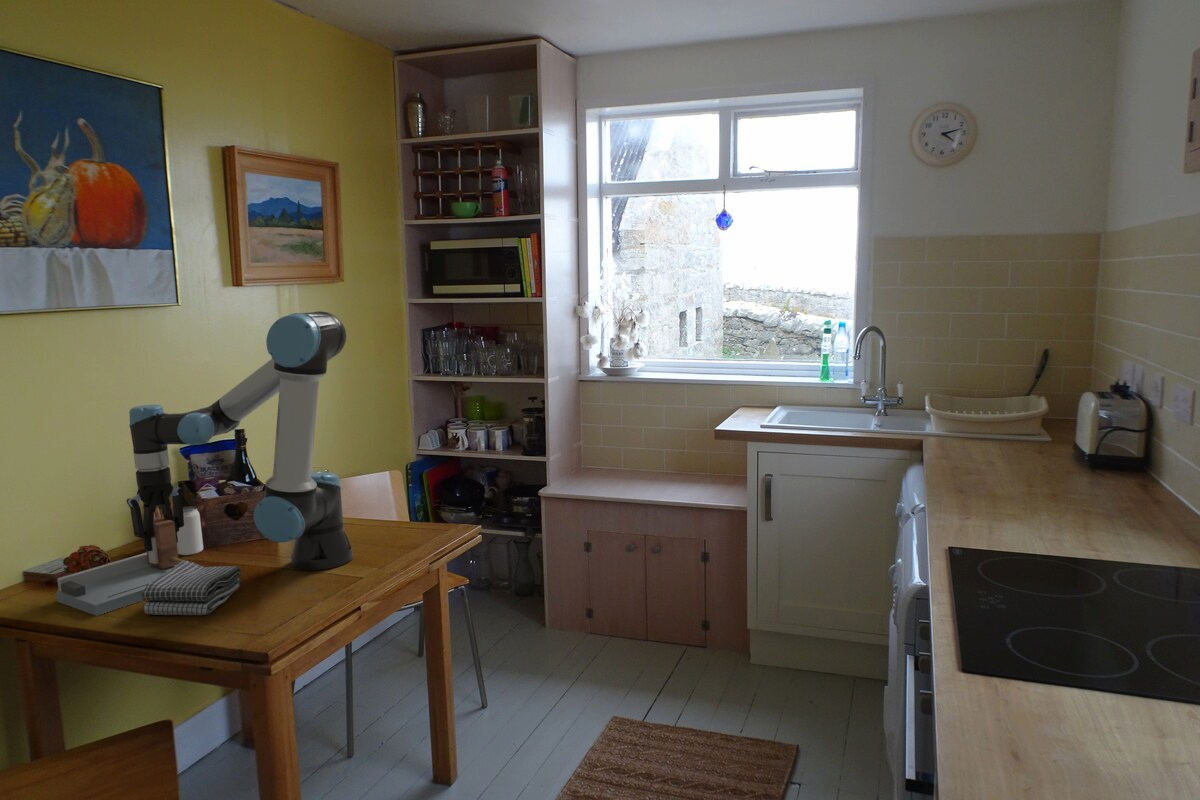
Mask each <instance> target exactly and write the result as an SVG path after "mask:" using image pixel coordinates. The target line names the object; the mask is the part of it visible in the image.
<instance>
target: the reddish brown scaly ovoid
mask: <svg viewBox="0 0 1200 800" xmlns="http://www.w3.org/2000/svg"><path fill="white" fill-rule="evenodd" d="M111 561H112V559H111V558H110V556H109V554H108V553H107V551H105V550H104V549H102V548H101V547H99V546H97V545H95V544H89V545H80V546H79V547H78V549H77V551H74V552H71V553H70V555H69V556H67V557H65V558H64V559H63V561H62V563H63V566H66V567H63V570H64V572H65V573H66V574H71V573H73V574H75V573H76V572H77V573H78V572H82V571H85V570H88V569H92V568H95V567H99V566H102V565H106V564H109V563H111Z"/></svg>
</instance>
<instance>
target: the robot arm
mask: <svg viewBox="0 0 1200 800" xmlns="http://www.w3.org/2000/svg"><path fill="white" fill-rule="evenodd" d="M265 340H266V341H265V342H266V349H267V353H268V354H269V355H270V356H271V359H269V360H268V361H267V362H266V363H264V364H263V365H262V366H260V367H259V368H258V369H256V370H255V371H253V372H252V373H251V374H250V375H249V376H247V377H246V378H244V379H243V380H242V381H240V382H239V383H238V384H237V385H236V386H234V387H233V388H231V389H230V390H229V391H228V392H226V393H225V394H224V395H222V396H221V397H220V398H219V399H217V400H216V401H215V402H213V403H212V404H211V405H209V406H206V407H203V408H199V409H195V410H191V411H188V412H187V411H186V412H183V413H182V412H180V413H166V412H165V411H164V407H163V406H162V405H161V404H145V405H137V406H134V407H132V408H130V410H129V415H128V416H129V428H130V435H131V442H132V447H133V449H132V450H133V458H134V460H133V461H134V468H135V469H136V471H135V479H136V485H137V492H136V495H135V496H133V497H131V498H127V499H126V503H127V505H128V507H129V509H130V515H131V516H130V517H131V522H132V528H133V535H134V537H135V538H136V537H137V538H140V539H142V540H143V547H144V550H145V552H146V551H148V554H149V562H150V563H154V564H157V563H158V556H157V547H156V538H155V537H152V531H153V520H154V513H155V512H156V507H158V506H159V507H160V511H161V510H162V513H163V516H164V519H167V520H171V521H174V524H175V533H176V541H177V543H178V537H177V532H178V531H179V528H180V527H183V526H184V516H183V507H184V505H183V503H184V502H183V496H184V492H185V489H184V488H182V487H174V486H173V484H172V482H171V481H172V475H171V467H169V465H170V458H169V450H168V445H189V446H195V445H204V444H207V443H208V442H210V440H211V439H212V438H213V437H217V436H220V435H225V434H227V433H230V432H232V431H233V430H236V429H237V428H238V427H239V426H240V424H241V421H242V420H244V419H245V418H246V417H248V416H249V415H250V414H251V413H253V412H254V411H256V410H257V409H258V408H259V407H261V406H262V405H263V404H265V403H266V402H268V401H269V400H270V399H272V397H275V396H276V395H277V394H278V402H277V417H276V418H277V419H276V428H275V429H276V431H275V443H274V453H273V469H272V475H271V477H269V478H267V480H265V484H264V495H263V496H264V497H263V498H262V499H261V500H259V502H258V503H257V504H256V506H255V508H254V511H253V520H254V524H255V526H256V528H257V529H258V531H259V532H260V533H261V534H262V536H264V537H265V538H266V539H268V540H269V541H272V542H274V543H275V542H276V543H283V544H284V543H288V542H291V541H293V540H294V544H293V549H292V553H291V556H290V557H291V558H290V559H291V566H292V567H293V568H294V569H296V570H299V571H300V570H301V571H317V570H318V571H319V570H320V571H321V570H329V569H332V568H337V567H339V566H342V565H345V564H347V563H349V562H350V561H351V560H353V558H354V553H353V547H352V545H351V542H350V540H349V537H348V536H347V535H348V534H347V533H346V531H345V528H344V516H343V503H342V494H341V493H342V491H341V489H342V486H341V484H340V478H339V476H338V475H337V474H336V473H333V472H312V469H313V468H312V466H313V457H314V456H313V455H314V442H315V433H316V432H315V431H316V419H317V409H318V407H317V406H318V399H319V397H318V395H319V387H320V385H319V384H320V380H321V379H322V378H323V377H324V376H326V374H327V369H328V362H329V361H330V360H332V359H334V358H335V357H336V356H338V355H339V354H340V353H341V352H342V350H343V349H344V347H345V345H346V342H347V331H346V328H345V325H344V323H343V322H342V320H340V318H338V317H337V316H336V315H334V314H333V313H330V312H328V311H321V310H320V311H313V312H299V313H298V312H295V313H291V314H287V315H285V316H282V317H280V318H278V319H277V320H276V321H274V322H273V324H272V325H271V326H270V328H269V330H268V332H267V334H266V339H265ZM170 496H172V497H171V498H172V502H173V513H172V510H171V501H170ZM140 501H141V502H142V503H143V504H142V505H143V506H142V508H143V515H142V511H141V507H140V505H141V502H140ZM173 514H174V516H173Z"/></svg>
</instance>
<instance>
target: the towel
mask: <svg viewBox="0 0 1200 800" xmlns="http://www.w3.org/2000/svg"><path fill="white" fill-rule="evenodd" d="M183 560H184V561H182V562H180V563H179V564H178V565H177V566H175V567H174V568H172V569H171V570H169V571H167V572H166V573H164V574H162V575H161V576H159V577H158V578H156V579H155V580H153V581H151V582H150V583H149V584H148V585H147V586H146V588H145V590H144V592H143V594H142V599H143V600H144V601H146V602H145V603H144V605H143V612H144V613H145V614H146V615H153V616H154V615H155V616H156V615H157V616H205V615H210V614H212V612H214V611H215V610H216V609H217V608H218V607H219V606H220V605H222V604H224V603H225V602H226V601H227V600H228V599H229V598H230V596H232V594H234V593H235V592H236V591H238V590H239V589H240V588H239V587H241V584H240V583H241V579H240V578H242V577H243V575H242V574H241V573H240V572H241V566H239V565H238V566H237V565H235V566H234V565H233V566H232V565H231V566H230V565H226V566H225V565H221V566H219V565H218V566H203V565H200V564H198V563H195V562H193V561H188V560H186V559H183ZM238 588H239V589H238ZM237 589H238V590H237ZM235 590H236V591H235ZM234 591H235V592H234ZM233 592H234V593H233ZM213 610H214V611H213Z"/></svg>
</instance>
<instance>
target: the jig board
mask: <svg viewBox="0 0 1200 800" xmlns="http://www.w3.org/2000/svg"><path fill="white" fill-rule="evenodd" d="M177 565H178V564H177ZM177 565H174V566H171V567H168V568H164V569H163V568H159V567H155V566H152V565H148V560H147V553H146V552H143V553H141V554H138V555H134V556H131V557H127V558H122V559H119V560H117V561H113V562H109V563H108V564H106V565H102V566H99V567H95V568H92V569H88V570H85V571H82V572H78V573H76V572H75V573H73V574H71V573H70V574H69V575H65V576H61V577H58V578H57V579H56V580H57V587H58V588H57V589H58V590H57V591H56V593H55V594H56V601H57V603H60V604H63V605H65V606H68V607H72V608H74V609H76V610H79V611H82V612H85V613H87V614H90V615H94V616H95V615H96V616H95V617H98V615H99V616H101V614H102V615H104V613H105V614H107V612H108V613H110V611H111V612H113V610H114V611H116V609H117V610H119V609H118V608H120V609H122V608H121V607H123V608H125V606H126V607H128V606H127V605H129V606H131V605H130V604H132V605H134V603H135V604H137V602H138V603H140V601H141V602H143V599H142V594H143V592H144V590H145V588H146V586H147V585H148V584H149V583H150V582H151V581H153V580H155V579H156V578H158V577H159V576H161V575H162V574H164V573H166V572H167V571H169V570H171V569H172V568H174V567H175V566H177Z"/></svg>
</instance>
